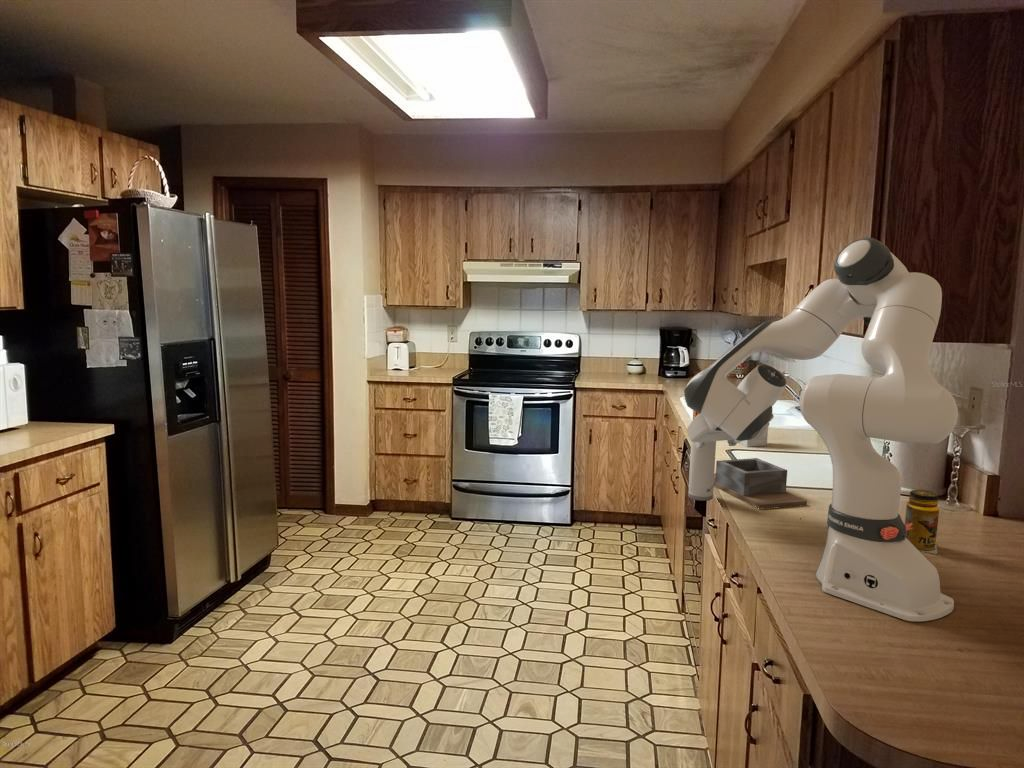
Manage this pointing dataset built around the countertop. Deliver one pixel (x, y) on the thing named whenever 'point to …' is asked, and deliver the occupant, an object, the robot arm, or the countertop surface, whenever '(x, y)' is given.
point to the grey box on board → (755, 483)
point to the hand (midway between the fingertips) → (714, 444)
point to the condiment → (922, 520)
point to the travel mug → (702, 471)
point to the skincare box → (756, 441)
